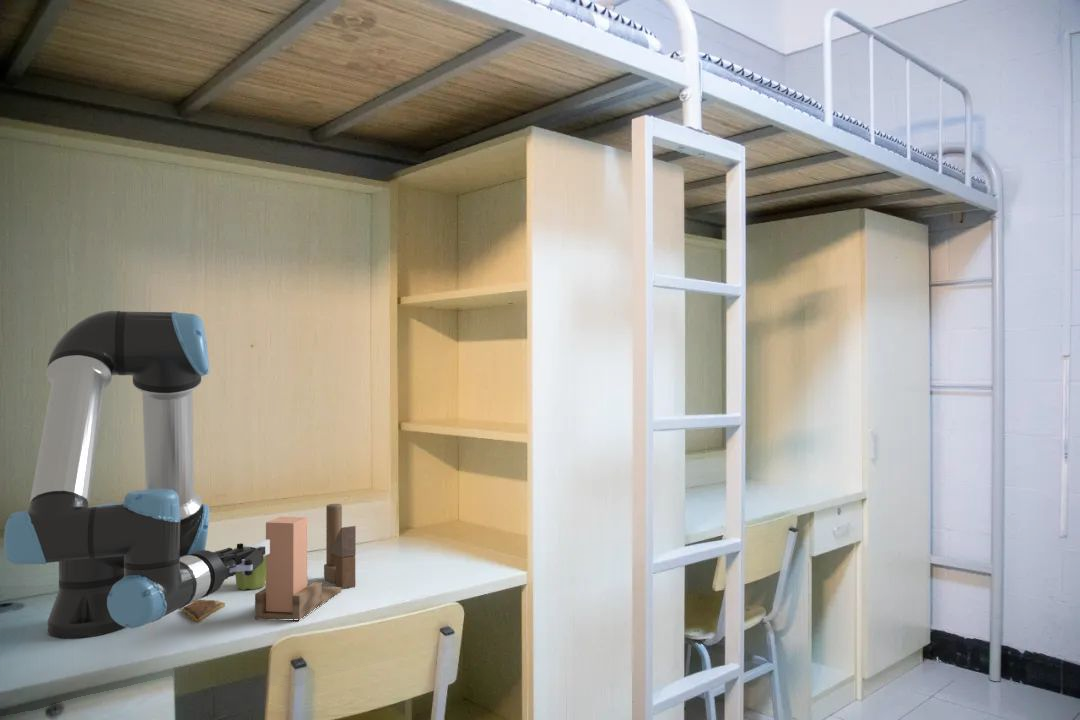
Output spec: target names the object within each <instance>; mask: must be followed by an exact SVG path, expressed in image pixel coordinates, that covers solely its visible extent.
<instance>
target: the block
mask: <svg viewBox="0 0 1080 720" xmlns="http://www.w3.org/2000/svg"><path fill="white" fill-rule="evenodd" d="M265 539H268V540H270V554H267V555H266V581H265V588H266V611H271V612H291V613H292V596H293V595H294V594H296V593H298V592H299V591H301V590H303V589H304V588H306V587H307V586H308V517H306V516H304V517H303V516H302V517H301V516H299V517H297V516H278V517H276V518H274V519H272V520H269V521H267V522H265Z"/></svg>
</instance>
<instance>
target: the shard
mask: <svg viewBox="0 0 1080 720" xmlns="http://www.w3.org/2000/svg"><path fill="white" fill-rule="evenodd" d="M225 606H226V603H225V602H223V601H219V600H213V599H211V600H210V599H199V600H197V601H195V602H192V603H190V604H188V605H186V606H184V609H182V610H181V611H182V613H184V614H187V615H188V617H189V618H190V619H191V620H192V621H194V622H195V623H198V624H200V622H202V621H204V620H205V619H206V618H208V617H210V616H211V615H213V614H214V613H216V612H217V611H219V610H222V609H223V608H225Z"/></svg>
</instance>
